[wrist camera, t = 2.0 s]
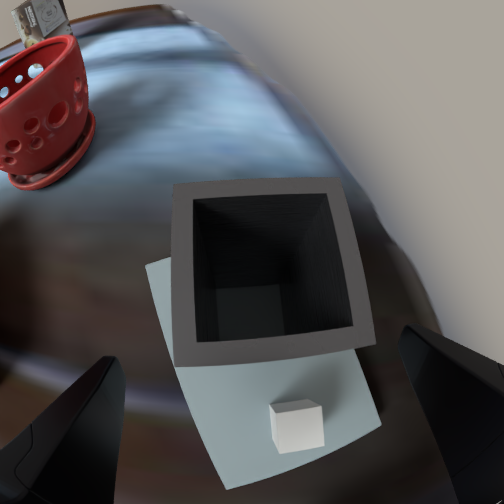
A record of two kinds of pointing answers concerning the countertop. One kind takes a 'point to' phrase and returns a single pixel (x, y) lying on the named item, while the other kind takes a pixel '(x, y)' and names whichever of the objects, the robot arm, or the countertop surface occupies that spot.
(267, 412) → the base plate
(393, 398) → the countertop surface
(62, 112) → the plant pot
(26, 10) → the coffee box
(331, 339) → the steel sleeve
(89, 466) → the robot arm
